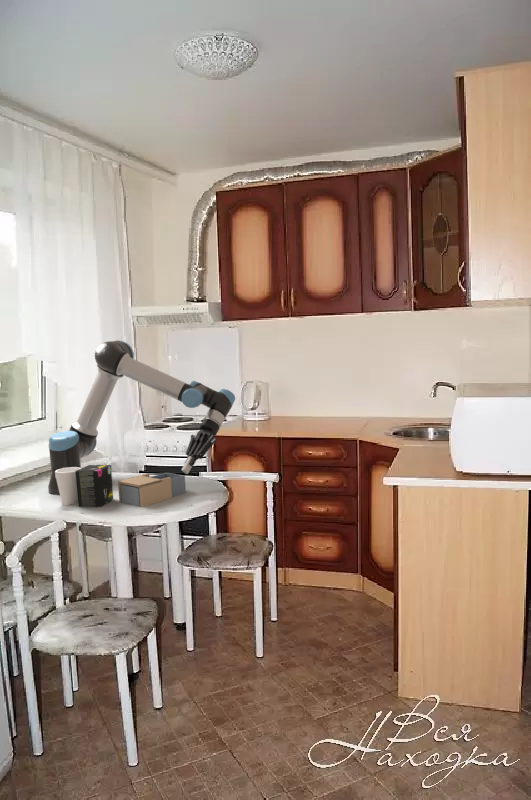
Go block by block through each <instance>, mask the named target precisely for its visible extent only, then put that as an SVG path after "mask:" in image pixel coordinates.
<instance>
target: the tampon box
mask: <svg viewBox="0 0 531 800" xmlns="http://www.w3.org/2000/svg"><path fill="white" fill-rule="evenodd" d="M75 473H76V484H77V495H78V502H77V504H78V507H79V508H102V507H104V506H106V505H107V504H108V503H109V504H110V502H112V501H113V500H114V492H113V491H114V488H113V475H112V474H113V472H112V465H111V464H96V465H95V464H89V465H86V466H84V467H81V469H79V470H77V471H75Z"/></svg>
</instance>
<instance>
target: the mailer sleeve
mask: <svg viewBox="0 0 531 800" xmlns="http://www.w3.org/2000/svg"><path fill="white" fill-rule="evenodd" d="M151 477H152V476H150V473H144V474H140V475H137V476H133V477H128V478H124V479H121V480H117V484H118V485H117V486H118V488H117V489H118V498H119V499H118V500H119V501H118V502H119V503H122V502H121V490H120V485H121V484H124V485H129V486H135V487H139V493H140V506H139V507H141V508H142V507H146V506H149V505H153V504H155V503H159V502H162V501H166V500H169V499H172V498H173V497H172V491H171V477H167V478H164V479H156V478H151Z"/></svg>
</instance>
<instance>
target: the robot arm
mask: <svg viewBox="0 0 531 800" xmlns="http://www.w3.org/2000/svg"><path fill="white" fill-rule="evenodd" d="M94 359H95V362H96V369H97V371H98V372H97V374H96V376H95V378H94V381H93V383H92V385H91V388H90V390H89V393H88V395H87V397H86V399H85V402H84V404H83V406H82V409H81V410H80V414H79V416H78V418H77V420H76V421H74V422H72V423H71V425H70V428H69V429H68V430H64V431H59V432H55V433H53V434H51V435H50V436H49V438H48V451H49V458H50V459H49V461H50V470H51V473H50V478H49V481H48V482H49V483H48V486H47V487H48V493H49V494H53V495H60V493H59V488H58V484H57V480H56V478H55V471H56V470H58V469H62V468H69V467H79V468H82V467H81V465H82V464H81V459H83V458H84V457H88V456H89V455H90V454H91V453H93V452H94V450H95V449H96V446H97V437H98V434H99V431H98V430H97V429H98V426H99V424H100V422H101V419H102V417H103V414H104V412H105V410H106V407H107V405H108V404H109V403H108V402H109V400H110V398H111V396H112V394H113V391H114V388H115V387H116V385H117V381H118V380H119V379H121V378H124V376H125V377H127V378H129V379H131V380H133V381H135V382H138V383H140V384H141V385H144V386H147V387H148V388H151V389H153V390H155V391H157V392H160V393H162V394H164V395H166V396H168V397H170V398H171V399H175V400H177V401H178V402H180V403H183V405H184V406H185V407H187V408H188V409H189V408H190V409H193V408H198V407H199V406H201V405H202V406H205V407H206V408H209V409H208V411H207V412H206V414H205V415H204V418H203V419H202V422H201V423H200V425H199V430H198V432H196V434H195V435H194V434H191V435H190V441H189V443H188V446H187V448H186V451H185V455H186V456H187V457H186V459H185V461H184V464H183V466H182V468H181V470H180V471H182V472H183V473H184V475H185V474H186V475H188V474H189V473H190V471H191V469H192V468H193V466H194V465H195V464H196V462H197V461H198V460H202V459H203V458H204V456H205V455H206V453H208V451H209V450H210V449H211V447H212V446H213V445H214V444H215V443H216V442H217V439H216V438H215V436H217V435H218V433H219V430H220V428H221V427H222V425H223V423H224V421H225V419H226V418H227V416H228V414H229V412H230V410H231V409H232V407H233V405H234V403H235V401H236V396H235V394H234V393H233V392H232V391H231V390H229V389H226V388H222V389H220V390H219V391H217V390H215V389H213V388H210V387H208V386H206V385H204V384H203V383H201V382H198V381H196V380H192V381H191V382H190V383H186V382H185V381H182V380H181V379H178V378H176V377H174V376H172V375H170V374H167V373H164V372H162V371H160V370H158V369H156V368H154V367H152V366H150V365H147V364H146V363H143V362H141V361H139V360H136V359H135V352H134V350H133V348H132V346H131V345H130V343H127V342H126V341H122V340H111V341H104V342H102V343H100V344H99V345H98V346H97V348H96V349H95V352H94Z"/></svg>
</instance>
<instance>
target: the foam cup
mask: <svg viewBox="0 0 531 800" xmlns="http://www.w3.org/2000/svg"><path fill="white" fill-rule="evenodd" d="M81 468H82V467H81ZM81 468H79V467H69V468H62V469H58V470H56V471H55V478H56V480H57V484H58V488H59V493H60V494H59V496H60V502H61V505H62V506H63V507H66V506H68V505H70V506H71V505H73V504H78V495H77V484H76V473H75V471H77V470H79V469H81Z"/></svg>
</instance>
